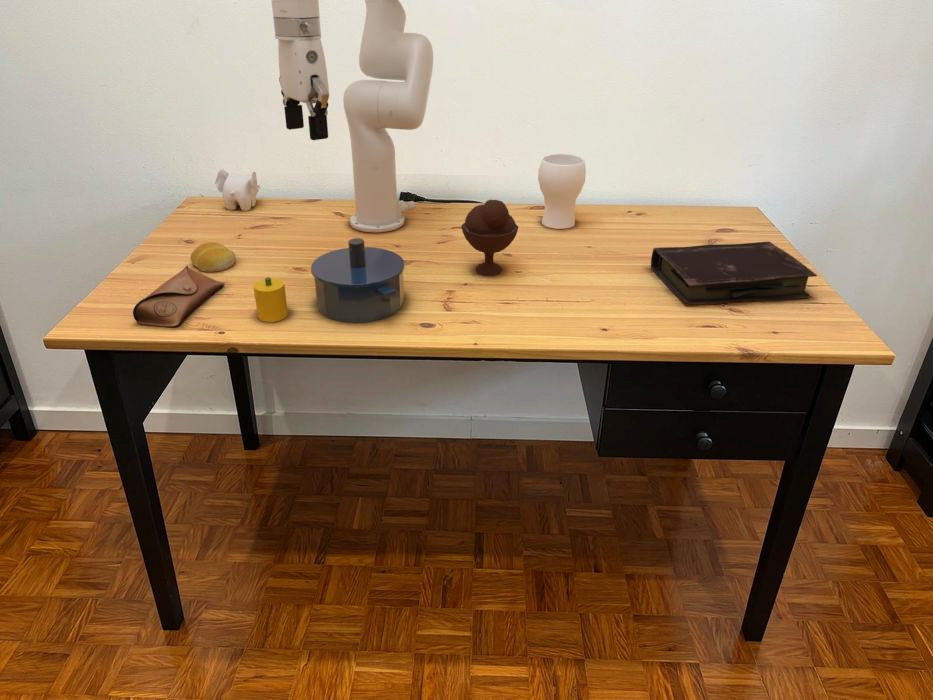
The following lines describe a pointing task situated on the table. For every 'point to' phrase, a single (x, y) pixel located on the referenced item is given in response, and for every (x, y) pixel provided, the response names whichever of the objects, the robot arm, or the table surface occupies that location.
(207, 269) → the bread roll
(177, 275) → the sunglasses case
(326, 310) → the pan
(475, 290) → the table surface
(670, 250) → the diary
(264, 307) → the yellow cylinder with peg
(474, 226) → the ice cream bowl
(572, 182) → the cup
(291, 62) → the robot arm
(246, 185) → the elephant figurine
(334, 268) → the lid
